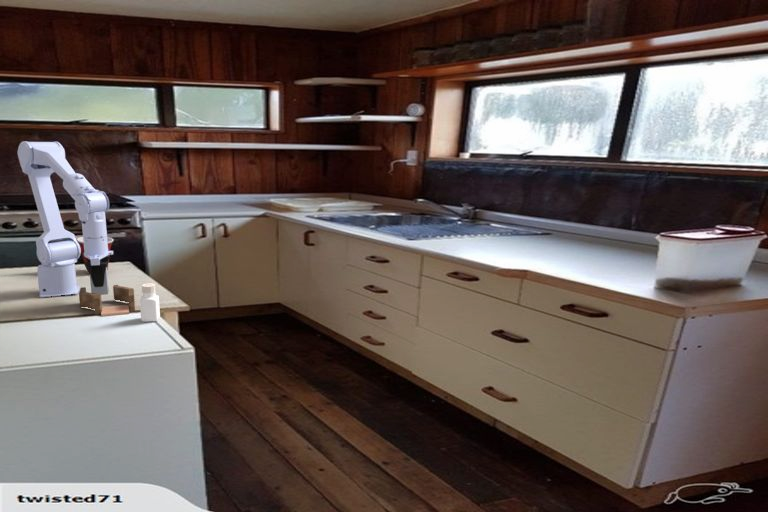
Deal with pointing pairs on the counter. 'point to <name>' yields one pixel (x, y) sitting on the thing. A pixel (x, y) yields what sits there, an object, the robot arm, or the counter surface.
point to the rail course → (96, 303)
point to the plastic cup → (81, 243)
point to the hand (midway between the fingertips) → (99, 284)
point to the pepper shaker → (149, 303)
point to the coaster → (115, 310)
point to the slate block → (100, 290)
